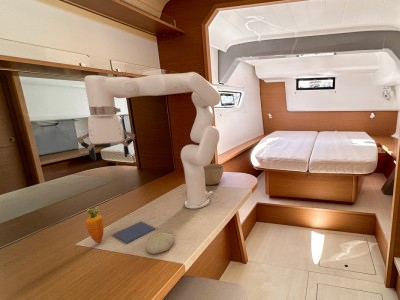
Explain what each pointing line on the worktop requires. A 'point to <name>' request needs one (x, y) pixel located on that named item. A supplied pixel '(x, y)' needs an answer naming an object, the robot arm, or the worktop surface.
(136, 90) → the robot arm
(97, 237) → the carrot
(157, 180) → the worktop surface
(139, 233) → the napkin
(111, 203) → the worktop surface
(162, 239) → the sea urchin shell
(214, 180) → the planter bowl
